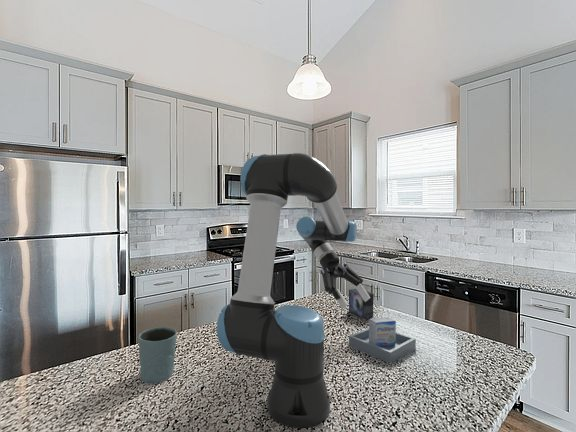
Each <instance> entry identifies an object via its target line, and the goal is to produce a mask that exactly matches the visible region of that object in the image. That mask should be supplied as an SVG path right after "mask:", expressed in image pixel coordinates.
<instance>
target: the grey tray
mask: <svg viewBox="0 0 576 432" xmlns="http://www.w3.org/2000/svg"><path fill="white" fill-rule="evenodd" d="M416 341H417V339H416V338H415V337H412V336H409V335H406V334H404V333H400V332H397V331H396V338H395V346H387V347H379V346H377V345H374V344H372V343H369V327H367V328H365V329H362V330H360V331H358V332H354V333H353V334H350V335H349V336H348V347H350V348H352V349H355V350H357V351H360V352H362V353H364V354H367V355H369V356H371V357H374V358H376V359H379V360H381V361H383V362H385V363H388V364H392V363H394V362H395V361H397V360H399V359H400V358H403V357H405V356H406V355H408V354H409V353H411V352H413V351H414V350H415V349H416V346H417V345H416V344H417V343H416Z"/></svg>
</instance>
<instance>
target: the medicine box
mask: <svg viewBox="0 0 576 432" xmlns="http://www.w3.org/2000/svg"><path fill="white" fill-rule="evenodd" d="M368 320H369V321H368V328H369V343H372V344H374V345H377V346H379V347H387V346H395V338H396V332H397V331H396V330H397V329H396V328H397V321H396V320H395V319H393V318H392V317H389V316H388V317H378V318H377V317H376V318H370V319H369V318H368Z"/></svg>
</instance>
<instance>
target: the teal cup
mask: <svg viewBox="0 0 576 432" xmlns="http://www.w3.org/2000/svg"><path fill="white" fill-rule="evenodd" d="M177 331H178V330H176V329H175V328H172V327H166V326H165V327H164V326H162V327H152V328H149V329H146V330H144V331H142V332H140V333H139V334H138V335H137V336H138V337H137V341H138V351H139V352H138V353H139V355H138V358H139V366H140V368H139V372H140V373H139V374H140V375H139V376H140V380H141V381H142V382H143V383H145V384H159V383H162V382H164V381H168V379H170V378H171V377H172V375H174V374H173V373H174V365H175V358H176V357H175V355H176V343H177V336H178V335H177V334H178V332H177Z"/></svg>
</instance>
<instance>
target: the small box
mask: <svg viewBox="0 0 576 432" xmlns="http://www.w3.org/2000/svg"><path fill="white" fill-rule="evenodd" d="M366 292H367V293H368V295H369V296H370V299H368V300H367V301H366V302H365V301H364V300H363V298H362V297H361V295H360V294H359V292H358V291H357V289H356V288H352V289H350V288H349V289H348V312H349V313H351V314H353V315H355V316H357V317H359V318H361V319H363V320H364V319H365V320H366V319H369V318H370V319H371V318H373V317H374V295H375V294H374V293H373V292H370V291H368V290H366Z"/></svg>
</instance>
